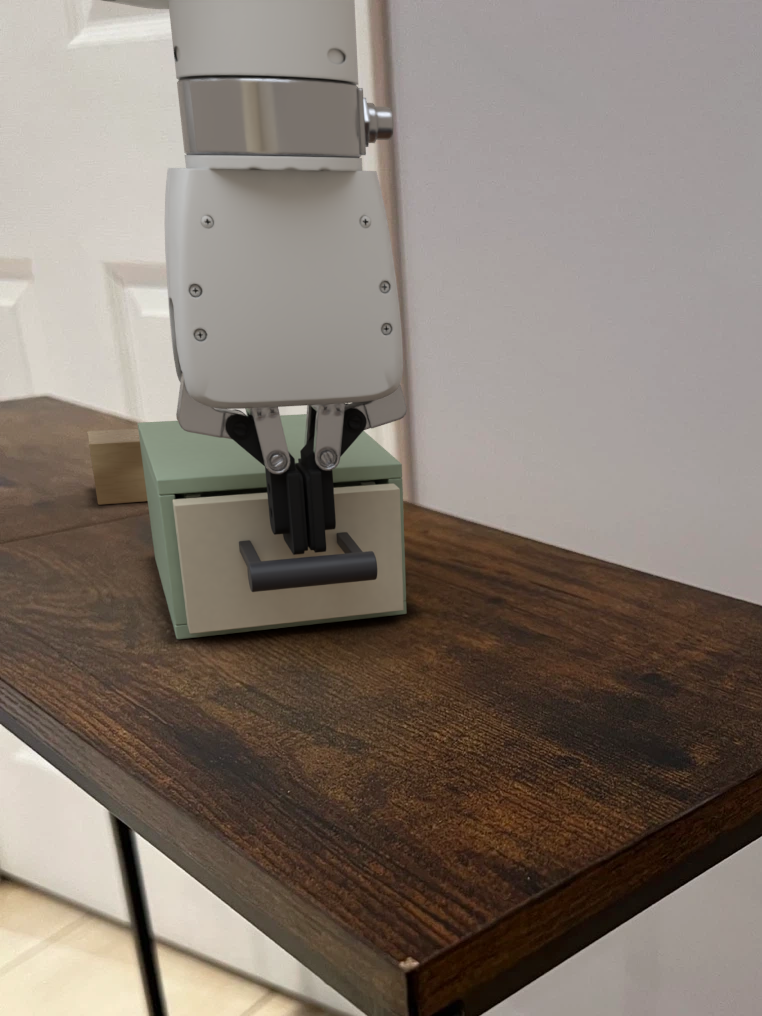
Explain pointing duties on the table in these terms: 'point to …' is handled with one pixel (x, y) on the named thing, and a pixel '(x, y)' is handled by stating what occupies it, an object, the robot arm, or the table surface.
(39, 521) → the table surface
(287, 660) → the table surface
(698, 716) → the table surface
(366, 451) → the cabinet
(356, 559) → the drawer
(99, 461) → the block
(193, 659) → the table surface
